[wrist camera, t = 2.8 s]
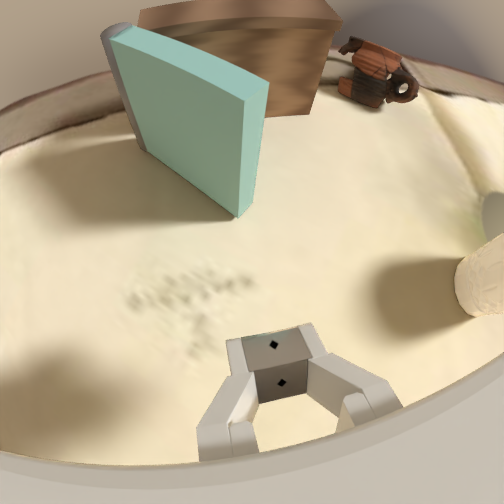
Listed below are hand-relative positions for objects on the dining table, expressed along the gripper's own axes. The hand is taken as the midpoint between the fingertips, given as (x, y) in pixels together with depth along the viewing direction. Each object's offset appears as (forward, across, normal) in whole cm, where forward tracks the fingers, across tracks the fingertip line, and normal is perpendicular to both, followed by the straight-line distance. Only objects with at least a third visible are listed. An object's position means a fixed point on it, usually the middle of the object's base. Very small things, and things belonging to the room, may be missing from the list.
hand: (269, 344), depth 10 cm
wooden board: (+27, -3, -7) cm, 29 cm away
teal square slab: (+22, +3, -2) cm, 22 cm away
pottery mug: (+30, -22, -9) cm, 38 cm away
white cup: (+10, -25, +11) cm, 29 cm away
